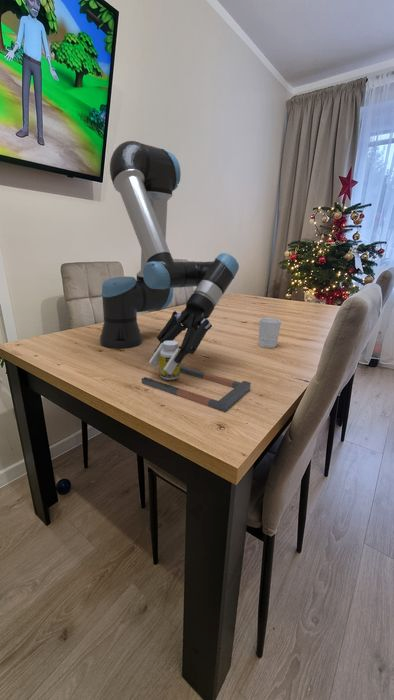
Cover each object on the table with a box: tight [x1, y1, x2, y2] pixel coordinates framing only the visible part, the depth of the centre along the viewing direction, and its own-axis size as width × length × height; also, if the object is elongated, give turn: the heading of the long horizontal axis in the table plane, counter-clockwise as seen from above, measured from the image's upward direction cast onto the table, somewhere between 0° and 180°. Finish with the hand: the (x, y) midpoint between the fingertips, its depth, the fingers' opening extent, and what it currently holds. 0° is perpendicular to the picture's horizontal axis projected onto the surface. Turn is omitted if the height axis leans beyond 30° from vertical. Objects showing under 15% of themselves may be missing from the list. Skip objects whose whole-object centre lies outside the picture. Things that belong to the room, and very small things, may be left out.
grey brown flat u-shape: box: [141, 365, 252, 412], centre depth 80 cm, size 25×14×2 cm, turn 57°
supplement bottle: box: [159, 340, 181, 381], centre depth 83 cm, size 5×5×10 cm
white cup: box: [258, 317, 282, 349], centre depth 115 cm, size 8×8×10 cm
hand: (159, 368), depth 81 cm, fingers closed on supplement bottle, 5 cm apart
